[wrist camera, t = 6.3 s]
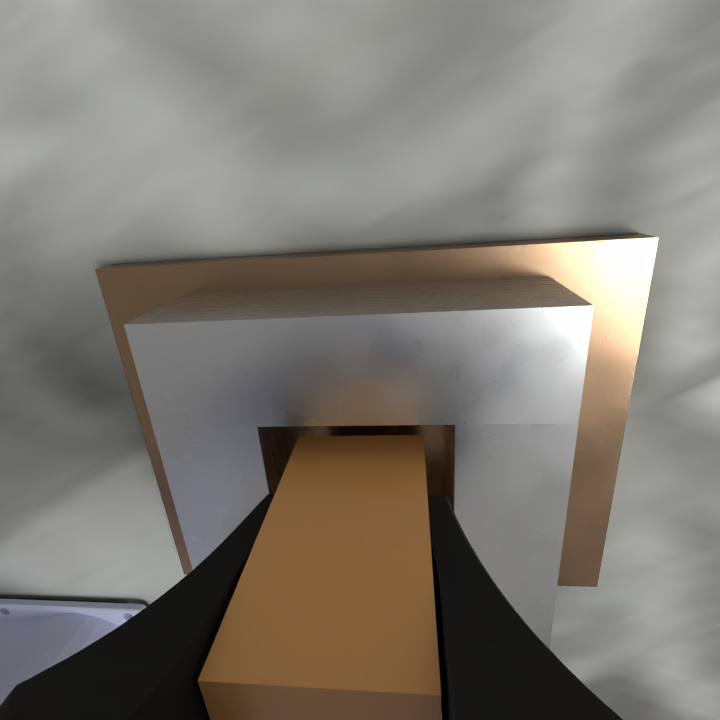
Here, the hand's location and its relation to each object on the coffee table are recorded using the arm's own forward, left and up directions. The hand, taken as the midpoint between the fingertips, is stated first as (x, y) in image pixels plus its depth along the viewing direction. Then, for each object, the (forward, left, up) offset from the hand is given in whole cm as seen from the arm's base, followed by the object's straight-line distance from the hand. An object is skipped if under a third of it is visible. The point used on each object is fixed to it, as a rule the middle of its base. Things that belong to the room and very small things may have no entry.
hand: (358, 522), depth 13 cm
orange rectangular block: (0, 0, -3) cm, 3 cm away
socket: (0, 0, -5) cm, 5 cm away
